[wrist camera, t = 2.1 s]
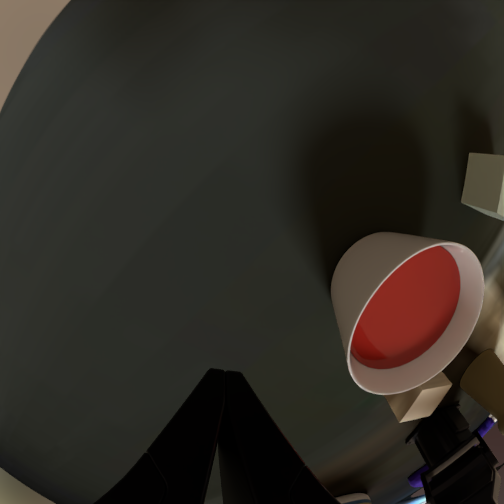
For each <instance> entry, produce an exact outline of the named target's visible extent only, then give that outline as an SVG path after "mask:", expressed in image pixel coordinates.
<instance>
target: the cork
mask: <svg viewBox="0 0 504 504" xmlns="http://www.w3.org/2000/svg"><path fill="white" fill-rule="evenodd" d="M460 387H461V389H463V390H464V391H465V392H466V393H467V394H468V395H470V396H471V397H472V398H473V399H474V400H475V401H476V402H478V403H479V404H480V405H481V406H482V407H483V408H484V409H486V410H487V411H488V412H489V413H490V414H491V415H492V416H493V417H495V418H496V419H497V420H498V428H499V431H500V432H501V434H502V435H504V365H503V363H502V362H501V361H500V359H499V358H498V357H497V355H496V354H495V353H494V351H493V350H491V349H488V350H486V351H484V352H482V353H481V354H480V355H479V356H478V357H476V358H475V360H474V361H473V362H472V363H471V364H470V365H469V367H468V368H467V369H466V371H465V373H464V374H463V376H462V378H461V381H460Z"/></svg>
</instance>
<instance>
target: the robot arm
mask: <svg viewBox="0 0 504 504" xmlns="http://www.w3.org/2000/svg"><path fill="white" fill-rule="evenodd" d="M460 407H461V406H460V404H457V405H453V406H450V407H446V408H443V409H439V410H435V411H433V413H432V414H431V415H430V416H427V417H426V418H425V419H424V420H423V422H422V423H421V424H420V425H419V427H418V428H417V429H416V430H415V431H414V433H413V434H412V435H411V436H410V437H409V439H408V440H407V441H406V442H405V443H406V445H410V444H413V443H415V444H416V446H417V447H418V449H419V451H420V453H421V455H422V457H423V459H424V461H425V462H426V464H427V466H428V468H429V469H428V470H426V471H425V472H422V473H421V474H420V476H421V477H420V479H421V482H422V485H423V488H424V490H425V496H426V502H427V503H428V504H498V502H497V500H498V494H499V489H500V484H501V477H500V476H499V474H498V472H497V471H496V469H495V466H496V465H497V464H498V463H499V462H498V460H497V459H496V457H495V456H494V454H493V453H492V451H491V450H490V448H489V447H488V445H487V444H486V442H485V441H484V440H483V439H482V437H481V435H480V434H479V432H478V431H477V430H476V431H475V432H474V433H473V434H472V433H471V431H470V430H469V427H470V426H469V424H468V422H467V421H466V419H465V418H464V417H463V415H462V414H461V413H460V411H459V408H460ZM217 442H218V456H219V467H220V477H221V487H222V496H223V504H341V503H340V502H339V501H338V500H337V499H336V498H335V497H334V496H333V495H332V494H331V493H330V492H329V491H328V490H327V489H326V488H325V487H324V486H323V485H322V483H321V482H320V481H319V480H318V479H317V478H316V476H315V475H314V474H313V473H312V471H311V470H310V469H309V467H308V466H305V463H304V461H303V460H302V459H301V457H300V456H299V455H298V453H297V452H296V451H295V449H294V448H293V447H292V445H291V444H290V443H289V441H288V440H287V439H286V437H285V436H284V434H283V433H282V432H281V430H280V429H279V427H278V426H277V425H276V423H275V422H274V420H273V419H272V418H271V416H270V415H269V413H268V412H267V410H266V409H265V407H264V406H263V404H262V403H261V401H260V400H259V399H258V397H257V396H256V394H255V393H254V391H253V390H252V388H251V386H250V385H249V383H248V382H247V380H246V379H245V377H244V376H243V374H242V373H241V372H237V371H229V370H228V371H226V372H225V371H224V370H221V369H214V368H210V369H209V370H208V371H207V372H206V374H205V375H204V377H203V378H202V379H201V381H200V382H199V383H198V385H197V386H196V387H195V389H194V390H193V391H192V393H191V394H190V395H189V397H188V398H187V399H186V401H185V402H184V403H183V404H182V406H181V407H180V408H179V410H178V411H177V412H176V414H175V415H174V416H173V418H172V419H171V420H170V421H169V423H168V424H167V425H166V427H165V428H164V429H163V430H162V432H161V433H160V434H159V435H158V437H157V438H156V439H155V441H154V442H153V443H152V444H151V446H150V447H149V448H148V449H147V451H146V452H147V453H144V454H143V455H142V457H141V458H140V459H139V460H138V461H137V463H136V464H135V465H134V466H133V467H132V468H131V469H130V471H129V472H128V473H127V474H126V475H125V476H124V477H123V478H122V479H121V480H120V481H119V482H118V483H117V484H116V485H115V486H114V487H113V488H111V489H110V490H109V491H108V492H107V493H106V494H105V495H103V496H102V497H101V498H100V499H98V500H97V501H96V502H95V503H94V504H204V502H205V497H206V493H207V488H208V484H209V479H210V475H211V470H212V465H213V461H214V456H215V452H216V447H217ZM478 442H480V444H479V445H477V446H476V447H475V445H476V444H477V443H478Z"/></svg>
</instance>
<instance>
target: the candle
mask: <svg viewBox="0 0 504 504" xmlns="http://www.w3.org/2000/svg"><path fill="white" fill-rule="evenodd" d="M483 298H484V276H483V271H482V267H481V265H480V262H479V260H478V258H477V257H476V255H475V254H474V253H473V252H472V251H471V250H470V249H469V248H467V247H466V246H464V245H462V244H459V243H456V242H451V241H446V240H440V239H434V238H428V237H422V236H416V235H410V234H403V233H396V232H378V233H374V234H371V235H368V236H366V237H364V238H362V239H360V240H359V241H357V242H356V243H355V244H353V245H352V246H351V247H350V248H349V249H348V250H347V251H346V252H345V254H344V255H343V256H342V258H341V259H340V261H339V263H338V264H337V266H336V269H335V271H334V274H333V277H332V282H331V300H332V305H333V309H334V313H335V317H336V321H337V325H338V329H339V332H340V336H341V340H342V344H343V348H344V353H345V357H346V361H347V365H348V369H349V372H350V374H351V376H352V378H353V380H354V381H355V382H356V384H357V385H358V386H360V387H361V388H362V389H364V390H366V391H368V392H370V393H374V394H380V395H390V394H397V393H401V392H405V391H408V390H411V389H413V388H415V387H417V386H419V385H421V384H423V383H425V382H427V381H428V380H430V379H431V378H433V377H434V376H435V375H437V374H438V373H439V372H441V371H442V370H443V369H444V368H445V367H446V366H447V365H448V364H449V363H450V362H451V361H452V360H453V359H454V358H455V357H456V356H457V354H458V353H459V352H460V351H461V349H462V348H463V346H464V345H465V343H466V342H467V340H468V339H469V337H470V335H471V333H472V332H473V330H474V327H475V325H476V323H477V320H478V318H479V315H480V312H481V308H482V304H483Z"/></svg>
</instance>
